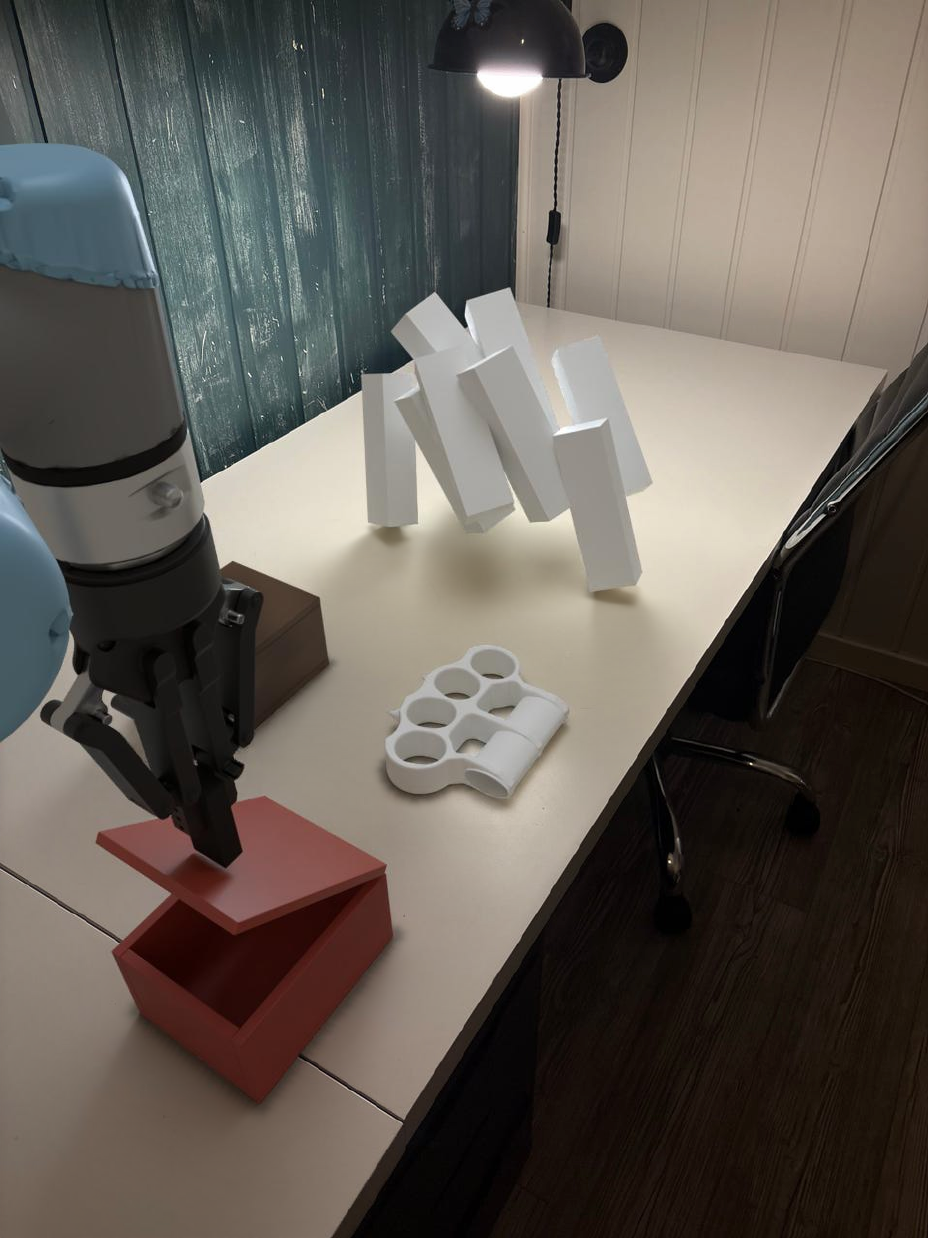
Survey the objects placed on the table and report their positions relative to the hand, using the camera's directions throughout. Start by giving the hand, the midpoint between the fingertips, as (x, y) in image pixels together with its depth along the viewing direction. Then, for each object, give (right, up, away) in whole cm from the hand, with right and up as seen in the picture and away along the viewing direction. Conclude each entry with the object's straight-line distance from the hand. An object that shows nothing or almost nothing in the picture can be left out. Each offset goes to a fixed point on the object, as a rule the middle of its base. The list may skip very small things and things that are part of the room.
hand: (218, 850), depth 56 cm
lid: (+1, -2, +3) cm, 4 cm away
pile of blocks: (+20, +25, +56) cm, 65 cm away
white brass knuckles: (+16, +3, +29) cm, 33 cm away
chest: (+1, -12, +11) cm, 16 cm away
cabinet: (-7, +8, +35) cm, 37 cm away
